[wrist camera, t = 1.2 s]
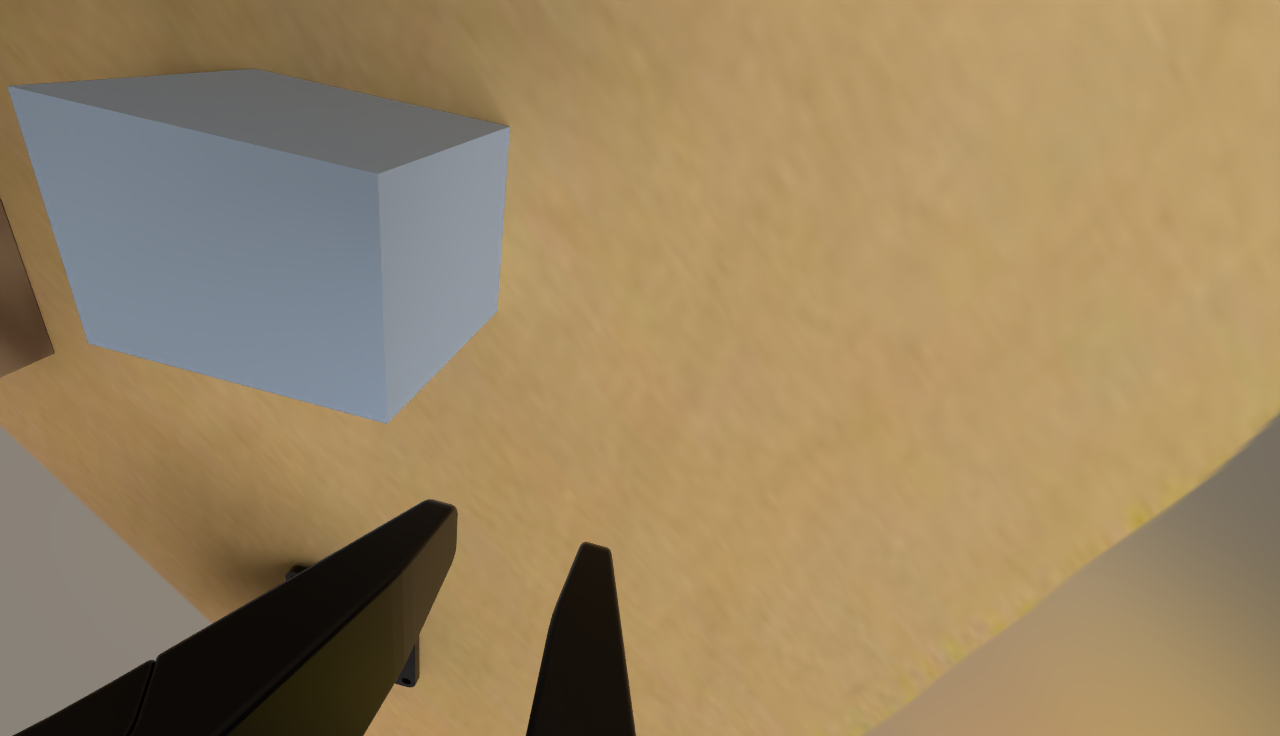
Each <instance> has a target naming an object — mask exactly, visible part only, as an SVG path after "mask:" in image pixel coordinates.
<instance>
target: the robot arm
mask: <svg viewBox="0 0 1280 736" xmlns="http://www.w3.org/2000/svg"><path fill="white" fill-rule="evenodd" d="M457 517H458V513H457V509H456V507H455V506H453V505H451V504H448V503H444V502H440V501H437V500H433V499H429V500H425V501H423V502H421V503H419V504H418V505H416V506H414V507H413V508H411V509H409V510H407V511H406V512H404V513H402V514H400V515H399V516H397V517H395V518H394V519H392V520H390V521H388V522H387V523H385V524H383V525H382V526H380V527H378V528H376V529H375V530H373V531H371V532H369V533H368V534H366V535H364V536H363V537H361V538H359V539H357V540H356V541H354V542H352V543H351V544H349V545H347V546H345V547H344V548H342V549H340V550H339V551H337V552H335V553H333V554H332V555H330V556H328V557H326V558H325V559H323V560H321V561H320V562H318V563H316V564H314V565H313V566H311V567H309V568H305V567H301V566H293V567H292V568H291V569H290V570H289V571H288V572H287V574H286V581H285V582H283V583H282V584H280V585H278V586H277V587H275V588H273V589H271V590H270V591H268V592H266V593H264V594H263V595H261V596H259V597H258V598H256V599H254V600H252V601H251V602H249V603H247V604H246V605H244V606H242V607H240V608H239V609H237V610H235V611H233V612H232V613H230V614H228V615H227V616H225V617H223V618H221V619H220V620H218V621H216V622H215V623H213V624H211V625H209V626H208V627H206V628H205V629H202V630H201V631H199V632H197V633H196V634H194V635H192V636H190V637H189V638H187V639H185V640H184V641H182V642H180V643H179V644H177V645H175V646H173V647H171V648H170V649H168V650H166V651H165V652H163V653H161V654H160V655H158V657H157V659H156V661H154V660H149V661H147V662H145V663H143V664H142V665H140V666H138V667H137V668H135V669H133V670H131V671H130V672H128V673H126V674H124V675H123V676H121V677H119V678H118V679H116V680H114V681H113V682H111V683H109V684H107V685H105V686H104V687H102V688H100V689H98V690H96V691H95V692H93V693H91V694H89V695H88V696H86V697H84V698H82V699H80V700H79V701H77V702H75V703H73V704H71V705H69V706H68V707H66V708H64V709H63V710H61V711H59V712H57V713H55V714H54V715H52V716H50V717H48V718H46V719H44V720H42V721H40V722H38V723H36V724H34V725H32V726H31V727H28V728H27V729H25V730H23V731H21V732H19V733H17V734H15V735H13V736H363V735H364V734H365V732H366V730H367V729H368V727H369V725H370V724H371V722H372V720H373V719H374V717H375V715H376V713H377V712H378V710H379V708H380V707H381V705H382V703H383V702H384V700H385V698H386V697H387V695H388V693H389V692H390V690H391V688H392V687H393V685H394V683H395V684H399V685H402V686H405V687H414V686H415V684H416V683H417V681H418V679H419V634H420V631H421V629H422V627H423V625H424V623H425V621H426V618H427V616H428V614H429V612H430V610H431V608H432V605H433V603H434V601H435V599H436V597H437V594H438V592H439V590H440V588H441V586H442V584H443V581H444V579H445V577H446V575H447V573H448V571H449V568H450V566H451V564H452V561H453V559H454V555H455V551H456V542H457ZM526 736H636V733H635V725H634V718H633V710H632V703H631V695H630V688H629V680H628V673H627V666H626V658H625V651H624V643H623V636H622V628H621V621H620V613H619V606H618V598H617V591H616V583H615V576H614V568H613V561H612V554H611V551H610V549H609V548H607V547H603V546H600V545H596V544H593V543H589V542H584V543H582V544H581V545H580V547H579V550H578V552H577V555H576V557H575V559H574V562H573V564H572V567H571V569H570V572H569V574H568V577H567V579H566V581H565V584H564V586H563V589H562V591H561V594H560V596H559V598H558V601H557V603H556V606H555V609H554V612H553V614H552V618H551V622H550V625H549V629H548V634H547V639H546V643H545V648H544V653H543V657H542V662H541V667H540V672H539V676H538V681H537V686H536V690H535V695H534V700H533V705H532V709H531V714H530V719H529V723H528V728H527V733H526Z"/></svg>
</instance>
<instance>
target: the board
mask: <svg viewBox="0 0 1280 736" xmlns="http://www.w3.org/2000/svg"><path fill="white" fill-rule="evenodd" d="M52 354H54V351H53V348H52V345H51V343H50V340H49V337H48V334H47V331H46V328H45V325H44V323H43V320H42V317H41V314H40V311H39V308H38V306H37V303H36V300H35V297H34V294H33V291H32V288H31V286H30V283H29V280H28V277H27V274H26V271H25V269H24V266H23V263H22V260H21V257H20V254H19V251H18V249H17V246H16V243H15V240H14V237H13V234H12V232H11V229H10V226H9V223H8V220H7V217H6V214H5V212H4V209H3V206H2V203H1V200H0V377H3V376H5V375H7V374H9V373H11V372H14V371H16V370H18V369H20V368H23V367H25V366H27V365H29V364H32V363H34V362H36V361H38V360H40V359H43V358H45V357H47V356H49V355H52Z"/></svg>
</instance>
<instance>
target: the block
mask: <svg viewBox="0 0 1280 736" xmlns="http://www.w3.org/2000/svg"><path fill="white" fill-rule="evenodd" d="M7 87H8V90H9V94H10V97H11V100H12V103H13V106H14V109H15V113H16V116H17V119H18V122H19V125H20V128H21V132H22V135H23V138H24V141H25V144H26V147H27V151H28V154H29V157H30V160H31V163H32V166H33V170H34V173H35V176H36V179H37V182H38V186H39V189H40V192H41V195H42V198H43V201H44V205H45V208H46V211H47V214H48V217H49V220H50V224H51V227H52V230H53V233H54V236H55V239H56V243H57V246H58V249H59V252H60V255H61V258H62V262H63V265H64V268H65V271H66V274H67V278H68V281H69V284H70V287H71V290H72V293H73V297H74V300H75V303H76V306H77V309H78V312H79V316H80V319H81V322H82V325H83V328H84V331H85V335H86V338H87V341H88V344H92V345H96V346H99V347H103V348H107V349H110V350H114V351H118V352H122V353H125V354H129V355H133V356H137V357H140V358H144V359H148V360H151V361H155V362H159V363H163V364H166V365H170V366H174V367H177V368H181V369H185V370H189V371H192V372H196V373H200V374H204V375H207V376H211V377H215V378H218V379H222V380H226V381H230V382H233V383H237V384H241V385H244V386H248V387H252V388H256V389H259V390H263V391H267V392H271V393H274V394H278V395H282V396H285V397H289V398H293V399H297V400H300V401H304V402H308V403H312V404H315V405H319V406H323V407H326V408H330V409H334V410H338V411H341V412H345V413H349V414H352V415H356V416H360V417H364V418H367V419H371V420H375V421H379V422H382V423H386V424H387V423H388V422H389V421H390V420H391V419H392V418H393V417H394V416H395V415H396V414H397V413H398V412H399V411H400V410H401V409H402V408H403V407H404V406H405V405H406V404H407V403H408V402H409V401H410V400H411V399H412V398H413V397H414V396H415V395H416V394H417V393H418V392H419V391H420V390H421V389H422V388H423V387H424V386H425V385H426V384H427V383H428V381H429V380H430V379H431V378H432V377H433V376H434V375H435V374H436V373H437V372H438V371H439V370H440V369H441V368H442V367H443V366H444V365H445V364H446V363H447V362H448V361H449V360H450V359H451V358H452V357H453V356H454V355H455V354H456V353H457V352H458V351H459V350H460V349H461V348H462V347H463V346H464V345H465V344H466V343H467V342H468V341H469V340H470V339H471V338H472V337H473V336H474V335H475V334H476V333H477V332H478V331H479V330H480V328H481V327H482V326H483V325H484V324H485V323H486V322H487V321H488V320H489V319H490V318H491V317H492V316H493V315H494V314H495V313H496V312H497V308H498V293H499V278H500V264H501V249H502V234H503V220H504V205H505V190H506V175H507V161H508V146H509V131H510V127H509V126H505V125H501V124H496V123H492V122H487V121H483V120H479V119H474V118H470V117H465V116H461V115H457V114H452V113H448V112H443V111H439V110H435V109H430V108H426V107H422V106H417V105H413V104H408V103H404V102H400V101H395V100H391V99H386V98H382V97H378V96H373V95H369V94H364V93H360V92H356V91H351V90H347V89H342V88H338V87H334V86H329V85H325V84H321V83H316V82H312V81H307V80H303V79H299V78H294V77H290V76H285V75H281V74H277V73H272V72H268V71H263V70H259V69H243V70H229V71H215V72H200V73H186V74H171V75H157V76H143V77H128V78H114V79H100V80H85V81H71V82H57V83H42V84H28V85H14V86H7Z"/></svg>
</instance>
